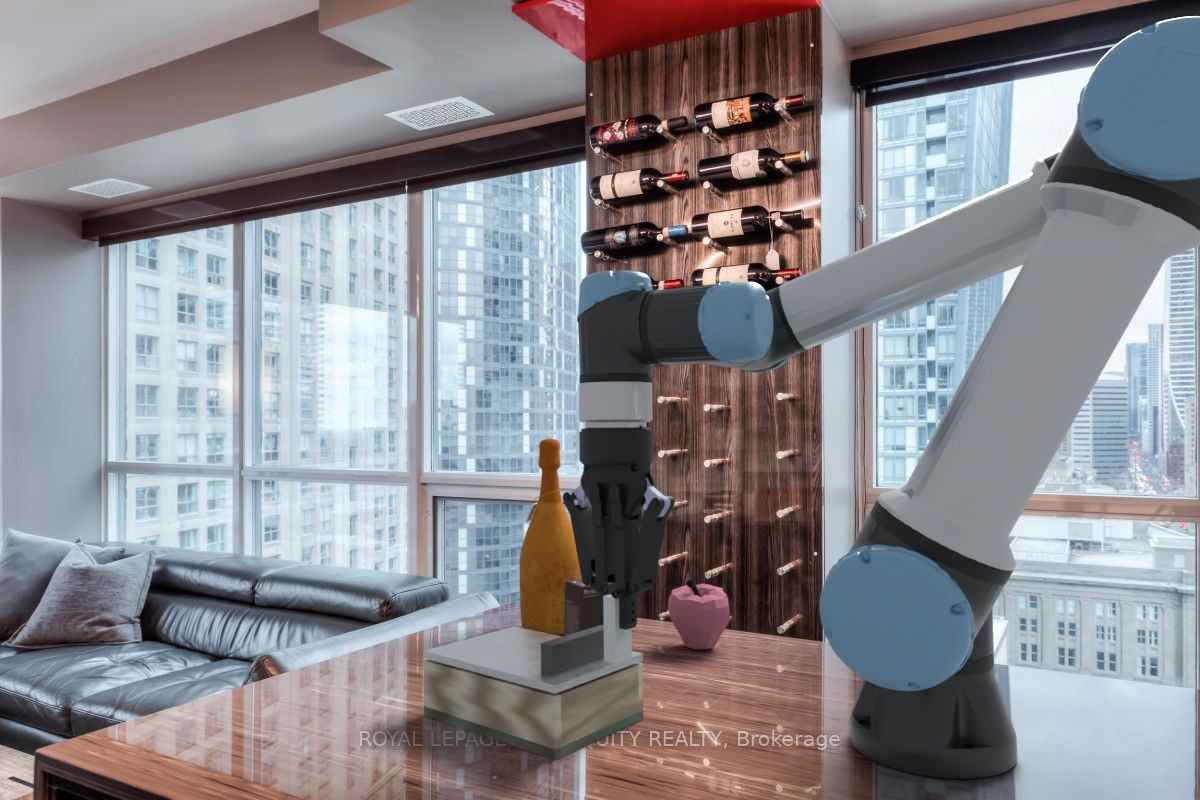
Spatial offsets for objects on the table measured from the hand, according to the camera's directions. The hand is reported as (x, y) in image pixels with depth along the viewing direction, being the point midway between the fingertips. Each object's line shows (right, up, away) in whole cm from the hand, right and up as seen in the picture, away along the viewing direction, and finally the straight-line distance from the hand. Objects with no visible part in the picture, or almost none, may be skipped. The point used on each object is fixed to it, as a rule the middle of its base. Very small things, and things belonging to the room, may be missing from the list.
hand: (618, 659), depth 83 cm
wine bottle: (-9, -10, +46) cm, 48 cm away
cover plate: (-9, -2, +8) cm, 12 cm away
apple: (+12, -10, +35) cm, 38 cm away
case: (-9, -9, +8) cm, 15 cm away
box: (-3, -9, +23) cm, 25 cm away
